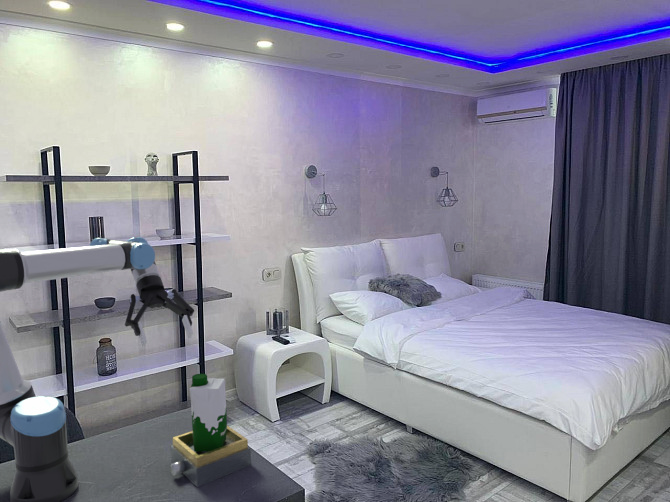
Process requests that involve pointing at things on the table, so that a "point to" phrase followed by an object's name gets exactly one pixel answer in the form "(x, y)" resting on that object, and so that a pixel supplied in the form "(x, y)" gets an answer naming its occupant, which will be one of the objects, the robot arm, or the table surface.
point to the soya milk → (208, 412)
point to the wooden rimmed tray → (209, 458)
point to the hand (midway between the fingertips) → (168, 339)
